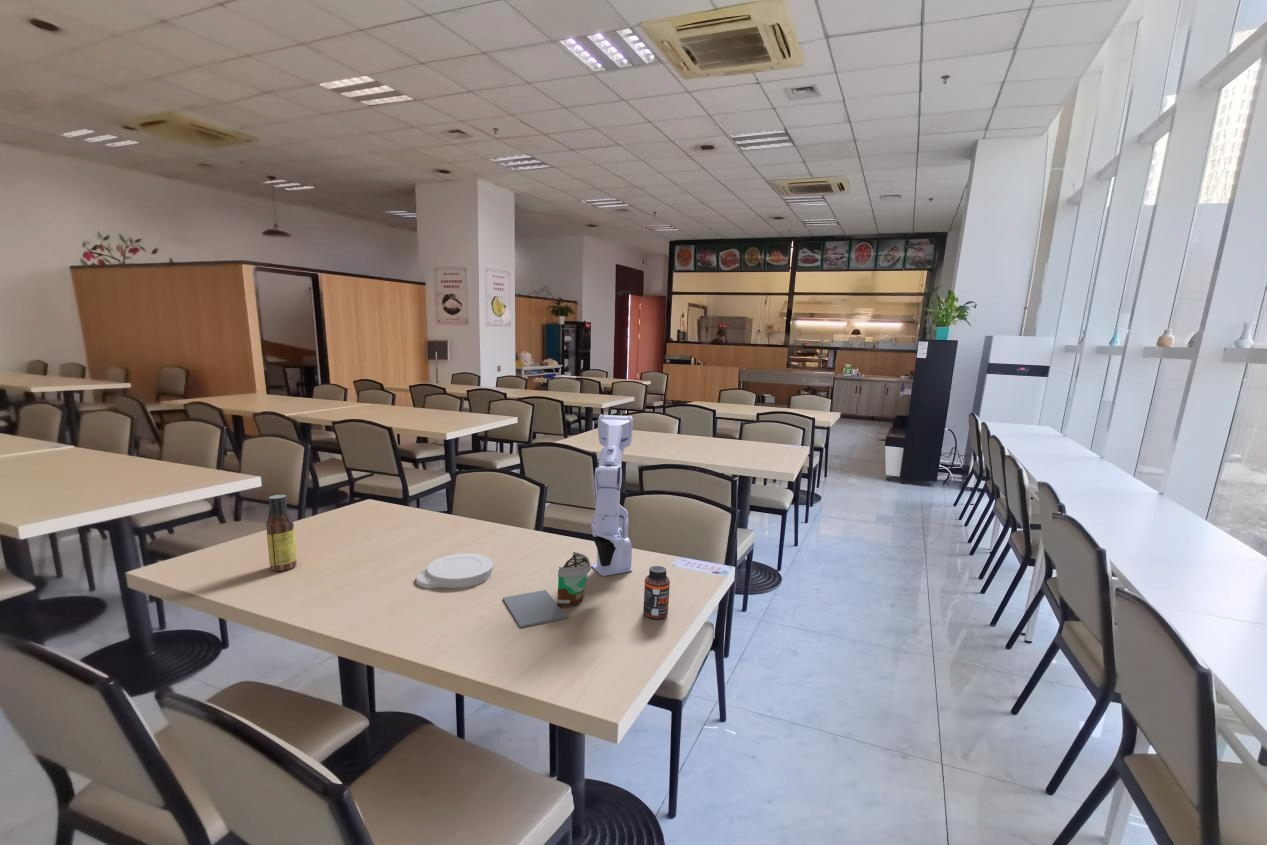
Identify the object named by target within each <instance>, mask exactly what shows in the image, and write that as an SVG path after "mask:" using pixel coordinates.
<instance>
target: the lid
mask: <svg viewBox="0 0 1267 845" xmlns="http://www.w3.org/2000/svg"><path fill="white" fill-rule="evenodd" d="M493 568H494V562H493V560H492V559H491V558H490V557H488V556H486V555H484V554H483V555H482V554H479V553H470V552H469V553H454V554H449V555H445V556H441V557H439V558H436V559H434V560H433V561H431V562H430V563H428V565H427V567H426V569H425V570H422V571H421V572H419V573H418V574H417V575H416V577H415V579H416V580H415V581H416V585H417V586H419V587H420V588H425V589H428V590H429V589H435V588H436V589H437V588H445V587H446V589H460V588H461V589H463V588H467V587H469V586H470V587H472V586H477V585H480V584H482V583H484V582H486V581H487V580H489V578H491V577H492V574H493Z"/></svg>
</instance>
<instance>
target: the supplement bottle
mask: <svg viewBox="0 0 1267 845" xmlns="http://www.w3.org/2000/svg"><path fill="white" fill-rule="evenodd" d="M648 572H649V573H648V575H647V576H646V577H645V579H644V592H643V593H644V595H643V606H642V607H643V610H642V611H643V614H644V616H646V617H648V618H650V619H652V618H653V620H660V619H661V618H662V619H664V618H666V617H667V616H668V614H669V605H670V604H669V602H670V586H671V585H670V583H671V581H670V577H668V576H667V568H666V567H664V566H660V565H653V566H650V567H649V571H648Z"/></svg>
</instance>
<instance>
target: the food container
mask: <svg viewBox="0 0 1267 845" xmlns="http://www.w3.org/2000/svg"><path fill="white" fill-rule="evenodd" d="M591 567H592V566H591V561H590V560H589V557H588V556H586V555H585V554H582V553H580V552H575V551H573V552H572V556H571V558H570V559H568V560H566V562H565V564H564V565H563V566H562V567H561V566H559V567H558V571H557V572H558V573H557V577H558V580H557V596H556V598H557V599H556V603H557V606H559V607H574V606H577V605H580V604H581V603H582V602H583V601H584V596H585V590H586V583H587V578H588V577H587V576H588V573H590V572H591V569H592V568H591Z"/></svg>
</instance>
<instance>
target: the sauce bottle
mask: <svg viewBox="0 0 1267 845" xmlns="http://www.w3.org/2000/svg"><path fill="white" fill-rule="evenodd" d="M267 499H268V500H267V501H268V503H269V509H270V511H269V513H270V514H269V517H268V519H267V521H266V526H265V527H266V539H267V540H266V541H267V548H268V559H269V561H268V562H269V566H270V569H271V571H275V572H283V571H288V570H291V569H293V568H295V567H296V566H297V562H298V561H297V560H298V559H297V558H298V556H297V546H296V545H297V544H296V536H295V525H294V522H293V520H292V517H291V516H290V514H289V511H288V508H287V500H288V498H287V495H286V494H275V495H271V496H269V497H268V498H267Z"/></svg>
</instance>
